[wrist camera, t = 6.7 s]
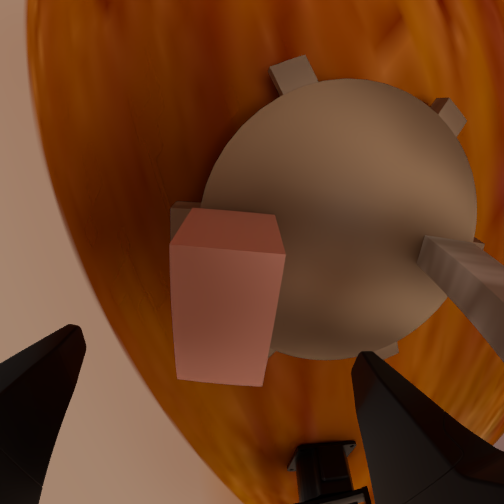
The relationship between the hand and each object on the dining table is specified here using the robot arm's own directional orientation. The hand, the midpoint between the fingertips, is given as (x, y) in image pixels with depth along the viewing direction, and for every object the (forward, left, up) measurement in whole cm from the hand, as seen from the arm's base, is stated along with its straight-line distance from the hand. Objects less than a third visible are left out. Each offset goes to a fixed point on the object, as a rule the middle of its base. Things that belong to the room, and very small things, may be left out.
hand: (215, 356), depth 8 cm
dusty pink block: (0, 0, -6) cm, 6 cm away
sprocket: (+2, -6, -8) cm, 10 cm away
